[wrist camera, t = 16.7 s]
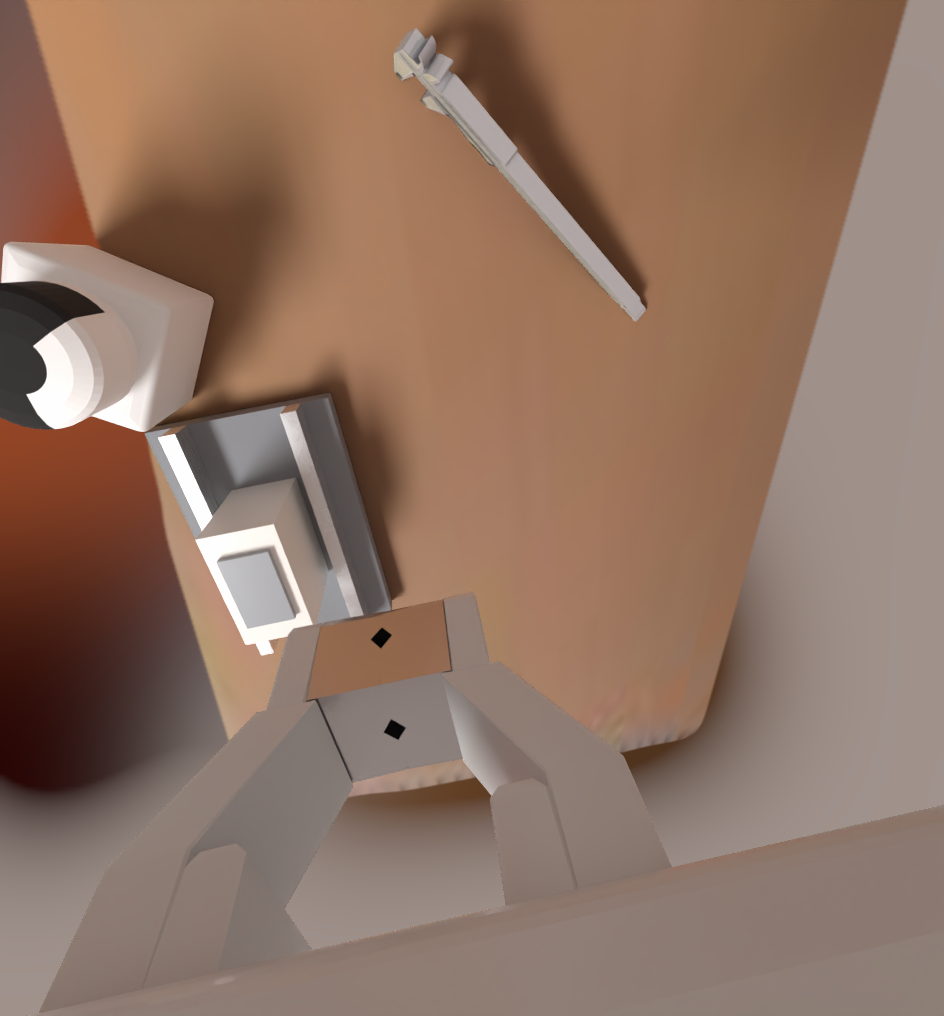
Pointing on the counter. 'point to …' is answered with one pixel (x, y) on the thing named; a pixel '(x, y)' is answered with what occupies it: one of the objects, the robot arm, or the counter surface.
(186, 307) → the medicine bottle
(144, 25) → the counter surface
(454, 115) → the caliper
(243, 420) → the rail base
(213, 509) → the din rail
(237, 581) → the din module
